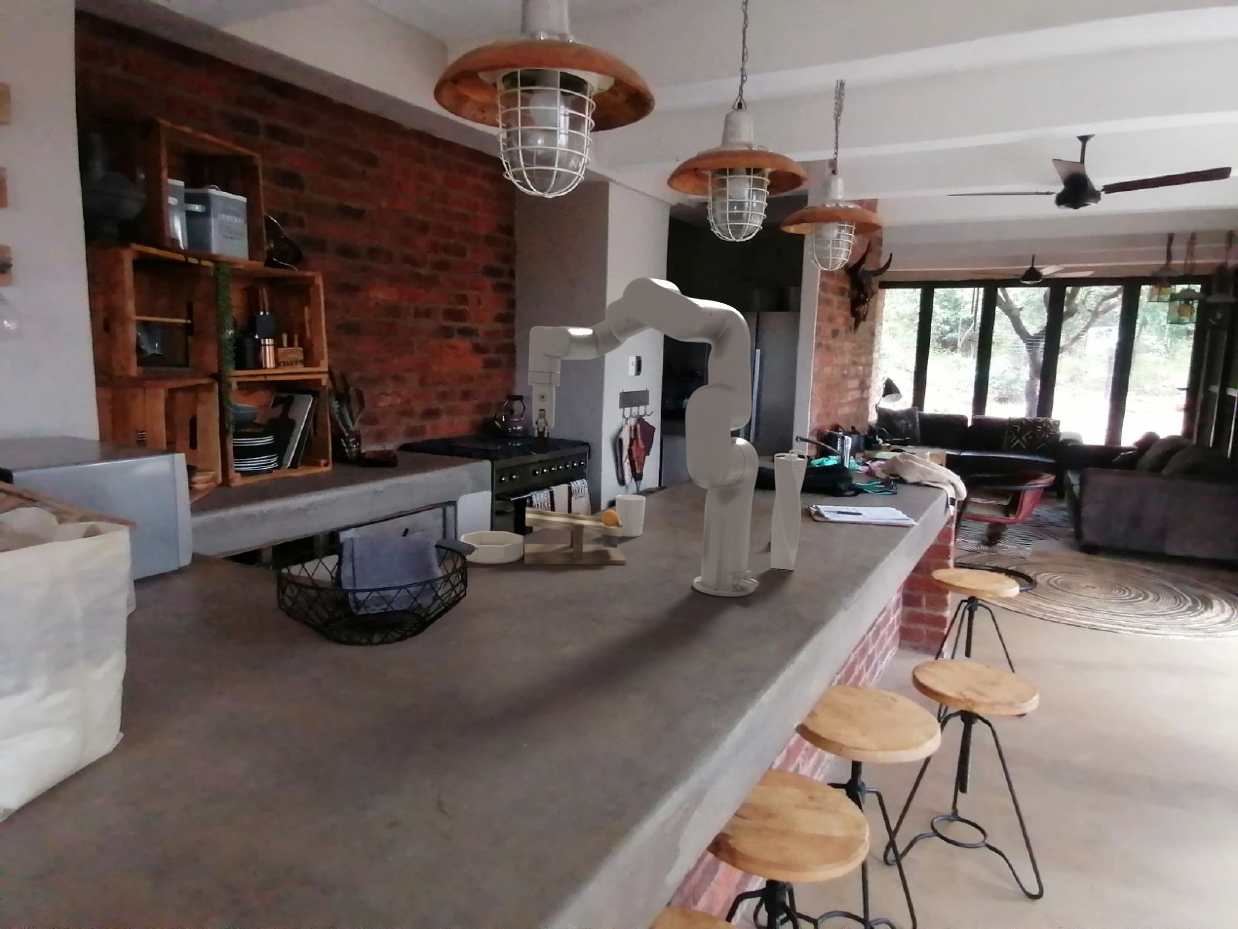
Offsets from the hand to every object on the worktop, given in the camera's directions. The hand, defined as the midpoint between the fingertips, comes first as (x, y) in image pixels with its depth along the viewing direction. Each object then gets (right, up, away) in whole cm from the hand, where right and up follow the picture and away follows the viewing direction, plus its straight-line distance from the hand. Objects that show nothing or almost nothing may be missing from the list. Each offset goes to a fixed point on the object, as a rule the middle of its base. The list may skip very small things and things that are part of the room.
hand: (541, 450), depth 190 cm
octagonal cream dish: (-11, -24, -7) cm, 27 cm away
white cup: (+21, -22, +20) cm, 37 cm away
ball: (+17, -16, -5) cm, 23 cm away
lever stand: (+8, -25, -4) cm, 27 cm away
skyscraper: (+57, -27, -7) cm, 63 cm away
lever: (+7, -20, -2) cm, 22 cm away
